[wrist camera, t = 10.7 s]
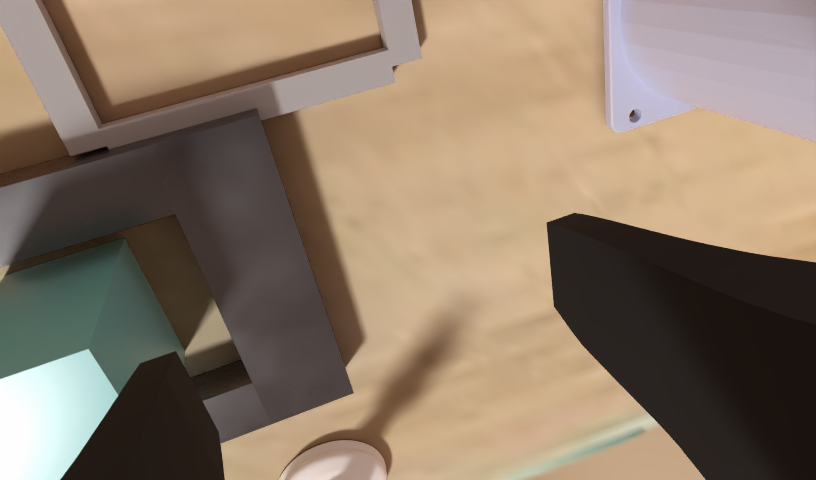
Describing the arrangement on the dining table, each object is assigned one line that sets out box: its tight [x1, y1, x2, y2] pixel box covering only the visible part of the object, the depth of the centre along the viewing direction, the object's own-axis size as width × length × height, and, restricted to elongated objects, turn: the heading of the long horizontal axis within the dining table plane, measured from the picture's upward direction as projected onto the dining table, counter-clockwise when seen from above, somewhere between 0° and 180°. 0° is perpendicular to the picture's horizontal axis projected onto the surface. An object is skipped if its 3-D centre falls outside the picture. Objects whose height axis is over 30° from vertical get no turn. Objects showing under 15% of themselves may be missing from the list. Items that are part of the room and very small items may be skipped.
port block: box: [0, 108, 353, 443], centre depth 18 cm, size 14×11×2 cm
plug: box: [0, 238, 185, 480], centre depth 16 cm, size 4×5×6 cm
